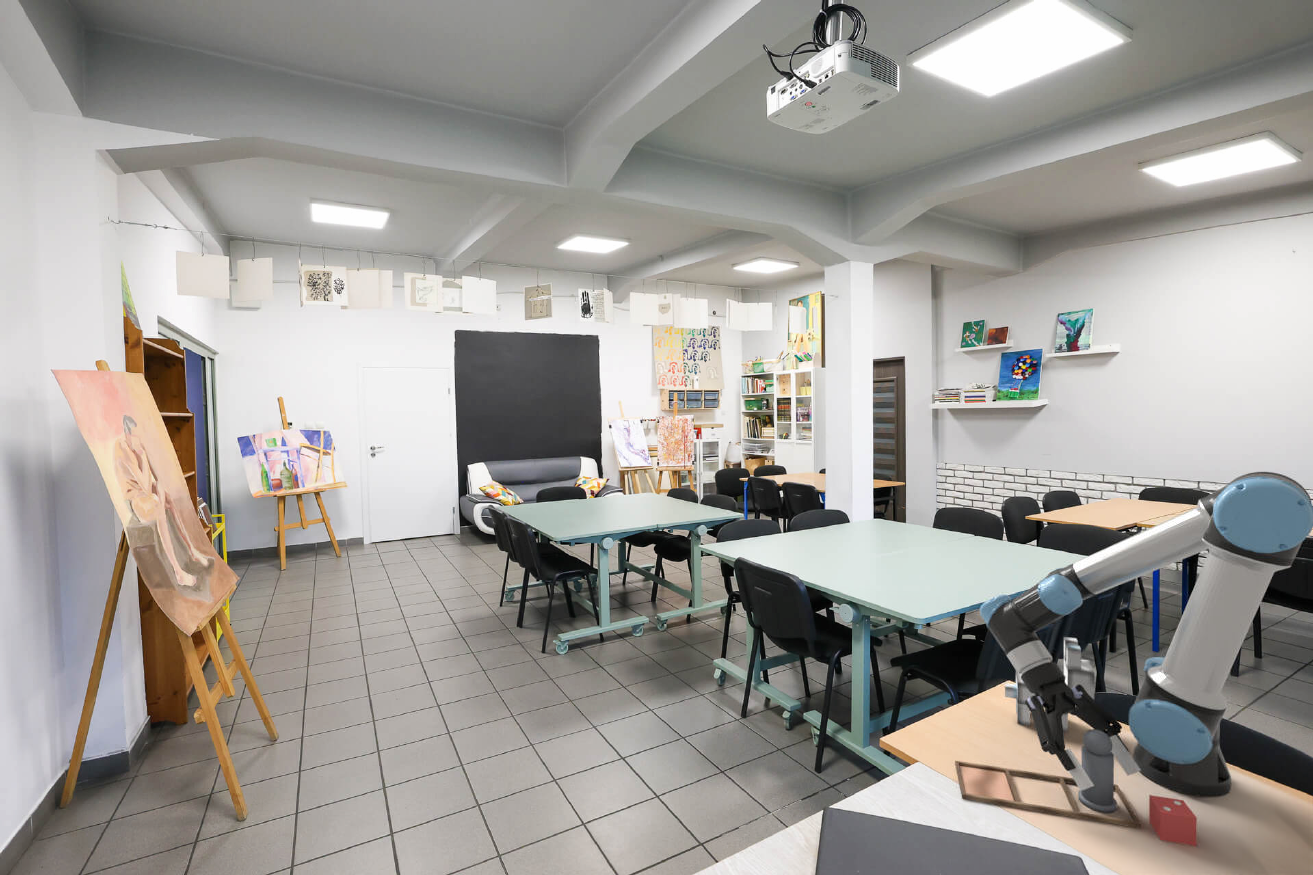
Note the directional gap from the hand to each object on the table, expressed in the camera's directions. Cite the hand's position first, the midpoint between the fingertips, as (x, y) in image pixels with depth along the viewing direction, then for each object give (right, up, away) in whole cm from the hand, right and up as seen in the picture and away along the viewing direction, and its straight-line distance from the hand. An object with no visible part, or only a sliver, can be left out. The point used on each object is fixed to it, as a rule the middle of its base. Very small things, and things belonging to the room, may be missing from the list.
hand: (1111, 780), depth 115 cm
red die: (+6, -6, -6) cm, 11 cm away
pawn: (-1, -6, +3) cm, 6 cm away
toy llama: (+9, -4, +32) cm, 34 cm away
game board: (-10, -6, +6) cm, 13 cm away
